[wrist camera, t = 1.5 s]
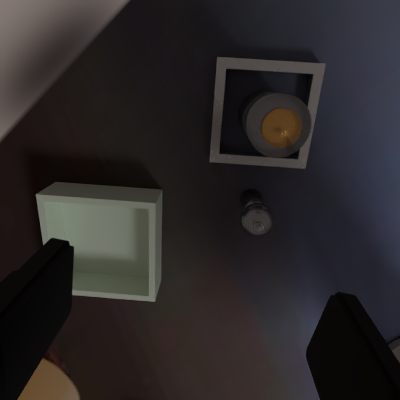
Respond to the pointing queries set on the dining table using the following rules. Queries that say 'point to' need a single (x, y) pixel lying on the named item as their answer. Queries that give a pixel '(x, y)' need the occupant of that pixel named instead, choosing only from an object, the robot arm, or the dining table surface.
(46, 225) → the bin
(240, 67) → the grey piece
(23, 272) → the robot arm
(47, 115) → the dining table surface
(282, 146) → the grey cylinder
